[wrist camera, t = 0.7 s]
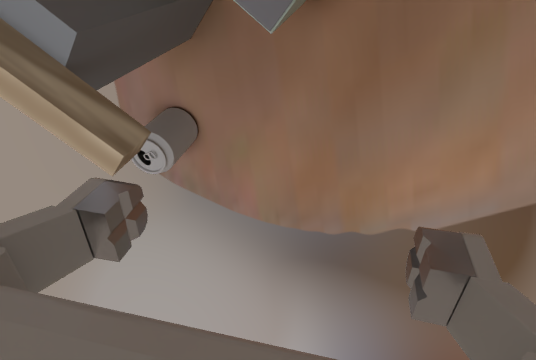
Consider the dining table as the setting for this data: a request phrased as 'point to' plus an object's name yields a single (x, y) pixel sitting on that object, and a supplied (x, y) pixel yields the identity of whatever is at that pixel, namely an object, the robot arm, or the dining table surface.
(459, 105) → the dining table surface
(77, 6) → the pedestal
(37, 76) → the bar
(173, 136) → the can
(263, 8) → the grey block
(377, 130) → the dining table surface
